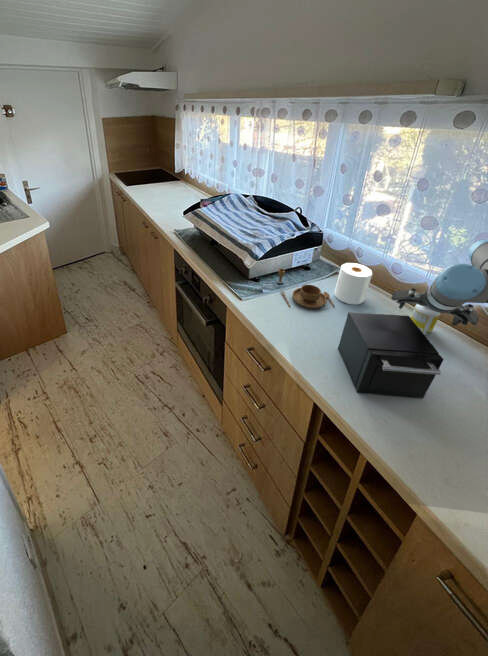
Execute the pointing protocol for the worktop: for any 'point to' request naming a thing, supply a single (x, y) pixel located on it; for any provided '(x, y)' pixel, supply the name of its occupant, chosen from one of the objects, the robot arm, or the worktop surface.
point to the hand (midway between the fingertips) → (426, 312)
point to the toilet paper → (353, 283)
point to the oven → (379, 338)
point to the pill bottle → (424, 318)
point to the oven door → (398, 373)
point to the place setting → (307, 295)
